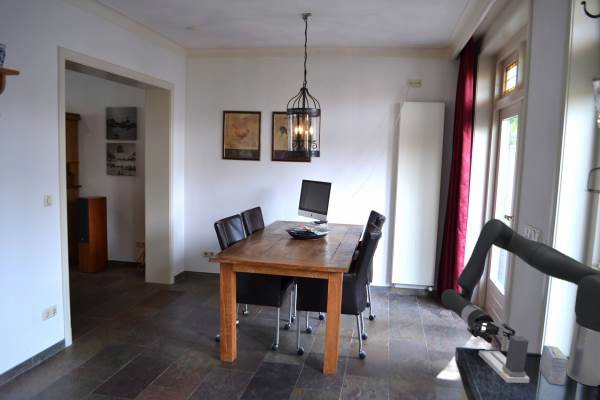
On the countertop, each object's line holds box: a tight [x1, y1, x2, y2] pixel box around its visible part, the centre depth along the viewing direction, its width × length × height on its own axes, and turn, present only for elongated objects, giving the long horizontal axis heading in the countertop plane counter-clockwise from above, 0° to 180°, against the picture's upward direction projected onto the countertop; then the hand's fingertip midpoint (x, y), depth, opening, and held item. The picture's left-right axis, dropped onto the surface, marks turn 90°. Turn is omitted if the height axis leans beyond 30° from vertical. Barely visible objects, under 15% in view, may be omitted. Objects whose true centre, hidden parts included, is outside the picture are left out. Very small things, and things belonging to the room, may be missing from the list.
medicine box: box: [539, 345, 569, 386], centre depth 128 cm, size 8×4×9 cm, turn 168°
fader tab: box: [502, 335, 530, 376], centre depth 125 cm, size 5×4×11 cm
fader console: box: [478, 350, 530, 384], centre depth 132 cm, size 7×16×2 cm, turn 6°
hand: (503, 341), depth 132 cm, fingers open, 8 cm apart
